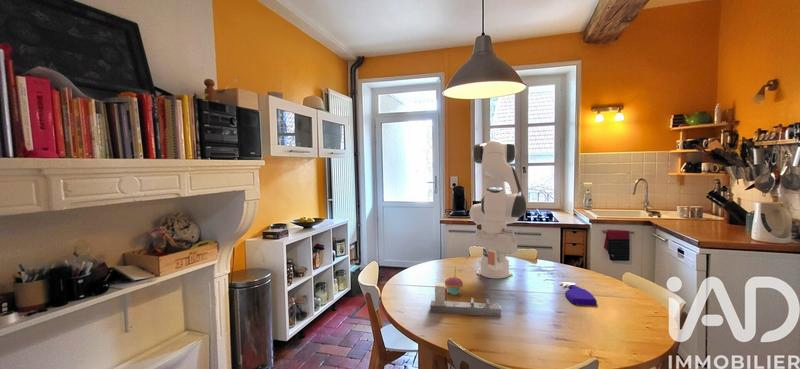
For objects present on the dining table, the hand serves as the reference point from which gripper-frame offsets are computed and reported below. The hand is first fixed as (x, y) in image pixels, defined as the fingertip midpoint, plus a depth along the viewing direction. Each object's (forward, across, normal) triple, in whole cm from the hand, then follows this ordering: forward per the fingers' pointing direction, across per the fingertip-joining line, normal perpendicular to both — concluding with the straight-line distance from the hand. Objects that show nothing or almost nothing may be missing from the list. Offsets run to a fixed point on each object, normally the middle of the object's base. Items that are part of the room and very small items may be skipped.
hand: (495, 260), depth 138 cm
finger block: (+3, 0, 0) cm, 3 cm away
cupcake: (+21, +24, +2) cm, 32 cm away
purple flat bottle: (+21, -7, -43) cm, 49 cm away
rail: (+21, +6, +11) cm, 24 cm away
